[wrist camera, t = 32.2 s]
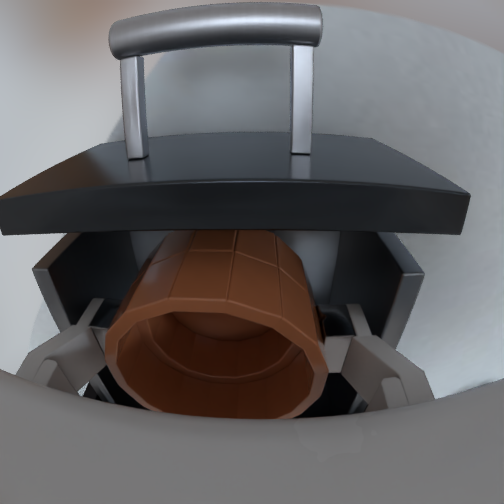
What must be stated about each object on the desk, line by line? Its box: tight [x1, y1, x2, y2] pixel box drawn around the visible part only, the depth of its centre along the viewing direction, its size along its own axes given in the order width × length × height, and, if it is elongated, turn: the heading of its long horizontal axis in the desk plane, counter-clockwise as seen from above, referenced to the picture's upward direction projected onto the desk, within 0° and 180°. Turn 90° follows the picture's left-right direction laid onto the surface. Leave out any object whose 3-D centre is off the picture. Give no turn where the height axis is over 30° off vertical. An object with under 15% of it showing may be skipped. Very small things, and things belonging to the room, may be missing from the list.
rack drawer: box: [0, 2, 471, 419], centre depth 12 cm, size 18×13×8 cm
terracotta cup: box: [104, 230, 329, 419], centre depth 10 cm, size 6×6×4 cm
